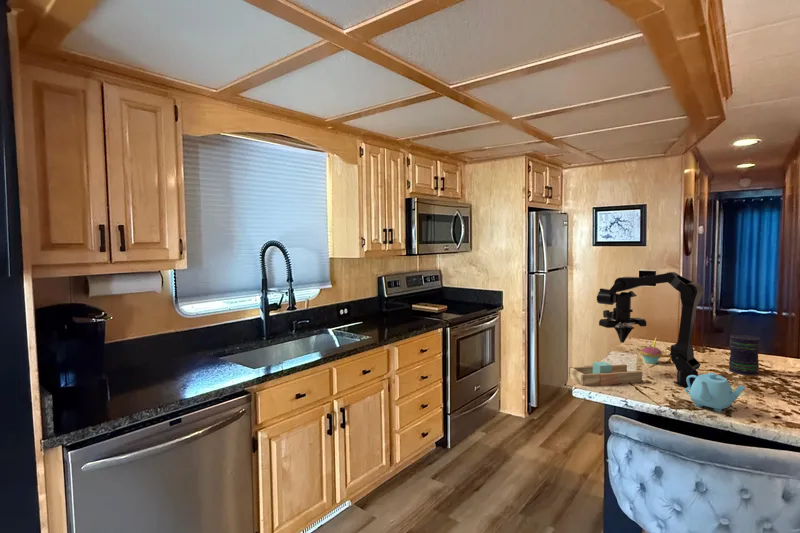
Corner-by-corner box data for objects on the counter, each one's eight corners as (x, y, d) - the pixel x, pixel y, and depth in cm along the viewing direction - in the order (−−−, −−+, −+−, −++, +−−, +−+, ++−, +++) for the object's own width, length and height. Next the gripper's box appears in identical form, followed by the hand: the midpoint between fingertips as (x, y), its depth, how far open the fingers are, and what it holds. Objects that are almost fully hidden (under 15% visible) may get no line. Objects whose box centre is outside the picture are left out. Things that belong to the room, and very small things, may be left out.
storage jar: (764, 376, 177) (765, 340, 176) (736, 374, 179) (738, 339, 178) (749, 368, 187) (751, 334, 186) (723, 367, 189) (725, 333, 188)
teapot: (748, 416, 138) (750, 381, 138) (701, 414, 140) (702, 379, 140) (721, 399, 153) (722, 367, 153) (678, 397, 155) (679, 366, 155)
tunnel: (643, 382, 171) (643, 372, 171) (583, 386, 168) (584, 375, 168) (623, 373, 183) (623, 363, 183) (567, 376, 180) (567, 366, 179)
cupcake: (656, 360, 202) (657, 334, 201) (665, 365, 193) (666, 338, 193) (636, 359, 203) (637, 334, 202) (645, 365, 194) (645, 338, 194)
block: (611, 377, 173) (611, 365, 173) (599, 378, 172) (600, 365, 172) (603, 373, 178) (604, 361, 178) (592, 374, 177) (592, 362, 177)
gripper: (630, 302, 194) (629, 337, 196) (591, 304, 192) (590, 339, 193) (648, 306, 183) (646, 343, 185) (607, 308, 181) (606, 345, 182)
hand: (622, 342), depth 186 cm, fingers closed
